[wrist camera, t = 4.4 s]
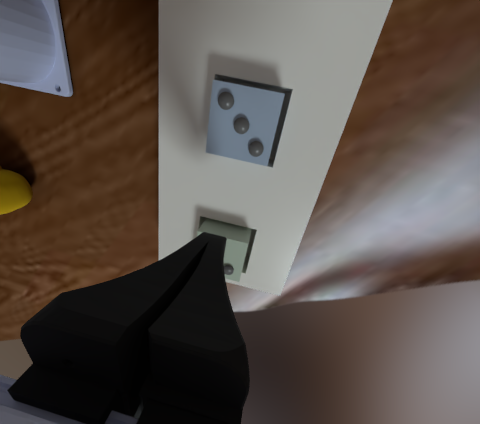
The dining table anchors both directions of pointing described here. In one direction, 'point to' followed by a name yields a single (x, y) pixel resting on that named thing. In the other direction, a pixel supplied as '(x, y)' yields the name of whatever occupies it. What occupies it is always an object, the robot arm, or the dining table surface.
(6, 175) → the duckling
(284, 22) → the button panel
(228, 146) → the button three
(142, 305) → the robot arm
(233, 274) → the button two
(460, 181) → the dining table surface
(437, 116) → the dining table surface
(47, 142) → the dining table surface
